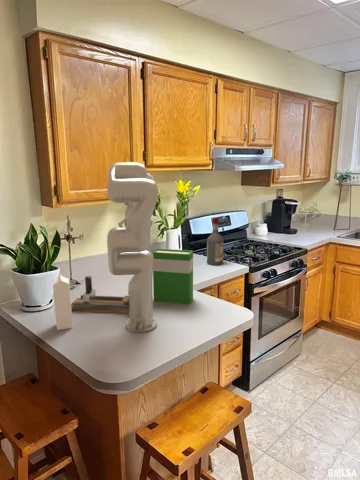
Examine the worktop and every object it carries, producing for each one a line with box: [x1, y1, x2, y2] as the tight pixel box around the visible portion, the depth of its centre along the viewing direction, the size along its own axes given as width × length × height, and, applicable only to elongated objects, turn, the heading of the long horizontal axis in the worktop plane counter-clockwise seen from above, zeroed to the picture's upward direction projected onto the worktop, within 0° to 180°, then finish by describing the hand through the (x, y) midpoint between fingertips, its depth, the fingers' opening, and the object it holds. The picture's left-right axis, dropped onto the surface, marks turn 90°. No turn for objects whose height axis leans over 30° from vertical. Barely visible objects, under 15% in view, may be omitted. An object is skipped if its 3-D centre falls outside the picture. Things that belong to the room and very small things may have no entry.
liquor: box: [206, 217, 225, 267], centre depth 229 cm, size 9×9×30 cm
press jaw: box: [82, 275, 97, 303], centre depth 163 cm, size 7×3×12 cm, turn 173°
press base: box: [71, 294, 129, 314], centre depth 162 cm, size 10×32×8 cm, turn 83°
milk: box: [52, 273, 73, 331], centre depth 143 cm, size 6×6×22 cm
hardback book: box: [152, 248, 194, 305], centre depth 170 cm, size 18×7×24 cm, turn 76°
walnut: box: [122, 295, 129, 305], centre depth 161 cm, size 4×4×4 cm
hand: (136, 239), depth 174 cm, fingers open, 9 cm apart
